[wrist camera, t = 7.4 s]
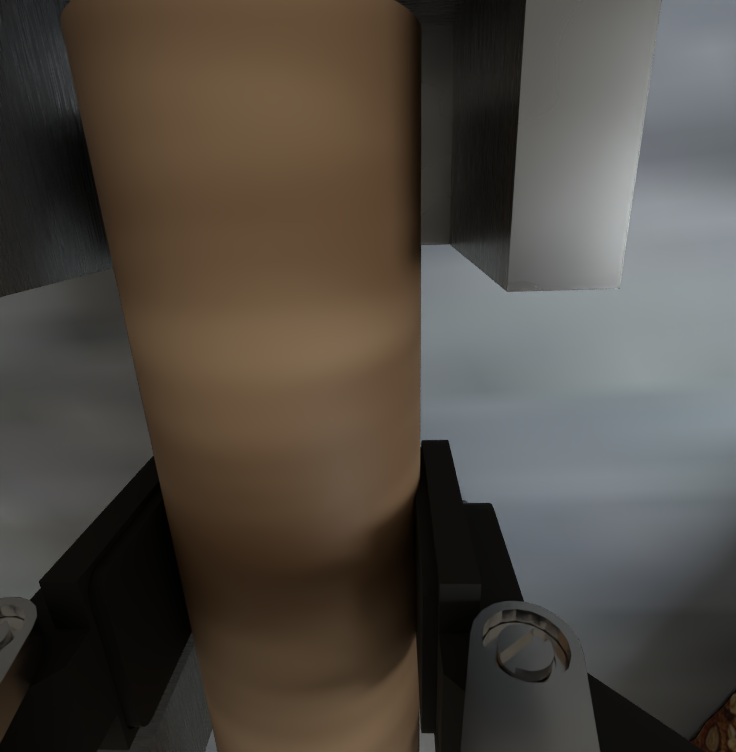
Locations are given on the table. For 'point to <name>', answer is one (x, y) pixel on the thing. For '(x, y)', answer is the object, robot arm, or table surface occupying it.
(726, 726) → the bread
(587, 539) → the table surface
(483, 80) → the box
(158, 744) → the saddle bracket
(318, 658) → the brown cylinder
